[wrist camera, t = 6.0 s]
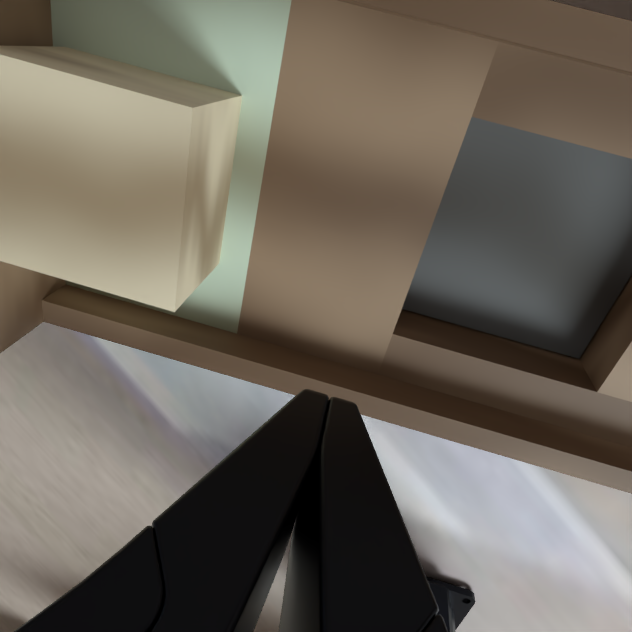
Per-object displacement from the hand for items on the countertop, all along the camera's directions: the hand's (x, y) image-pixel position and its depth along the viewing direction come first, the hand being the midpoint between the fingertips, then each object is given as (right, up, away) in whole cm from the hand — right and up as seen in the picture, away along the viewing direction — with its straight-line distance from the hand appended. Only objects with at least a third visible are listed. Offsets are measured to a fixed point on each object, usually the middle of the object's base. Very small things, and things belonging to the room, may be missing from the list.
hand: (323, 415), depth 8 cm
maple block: (-6, +7, +9) cm, 13 cm away
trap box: (+7, +5, +11) cm, 14 cm away
